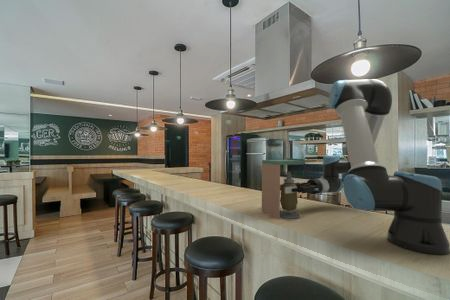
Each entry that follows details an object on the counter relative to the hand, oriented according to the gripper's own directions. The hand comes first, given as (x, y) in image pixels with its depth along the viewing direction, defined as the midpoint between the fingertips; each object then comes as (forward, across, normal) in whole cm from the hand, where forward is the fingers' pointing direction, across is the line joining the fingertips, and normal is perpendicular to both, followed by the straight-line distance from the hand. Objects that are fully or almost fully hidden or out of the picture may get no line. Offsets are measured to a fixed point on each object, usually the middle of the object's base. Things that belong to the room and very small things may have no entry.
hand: (280, 189), depth 101 cm
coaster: (-4, 0, -12) cm, 13 cm away
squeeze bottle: (-5, 0, -10) cm, 11 cm away
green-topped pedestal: (-4, +3, -12) cm, 13 cm away
